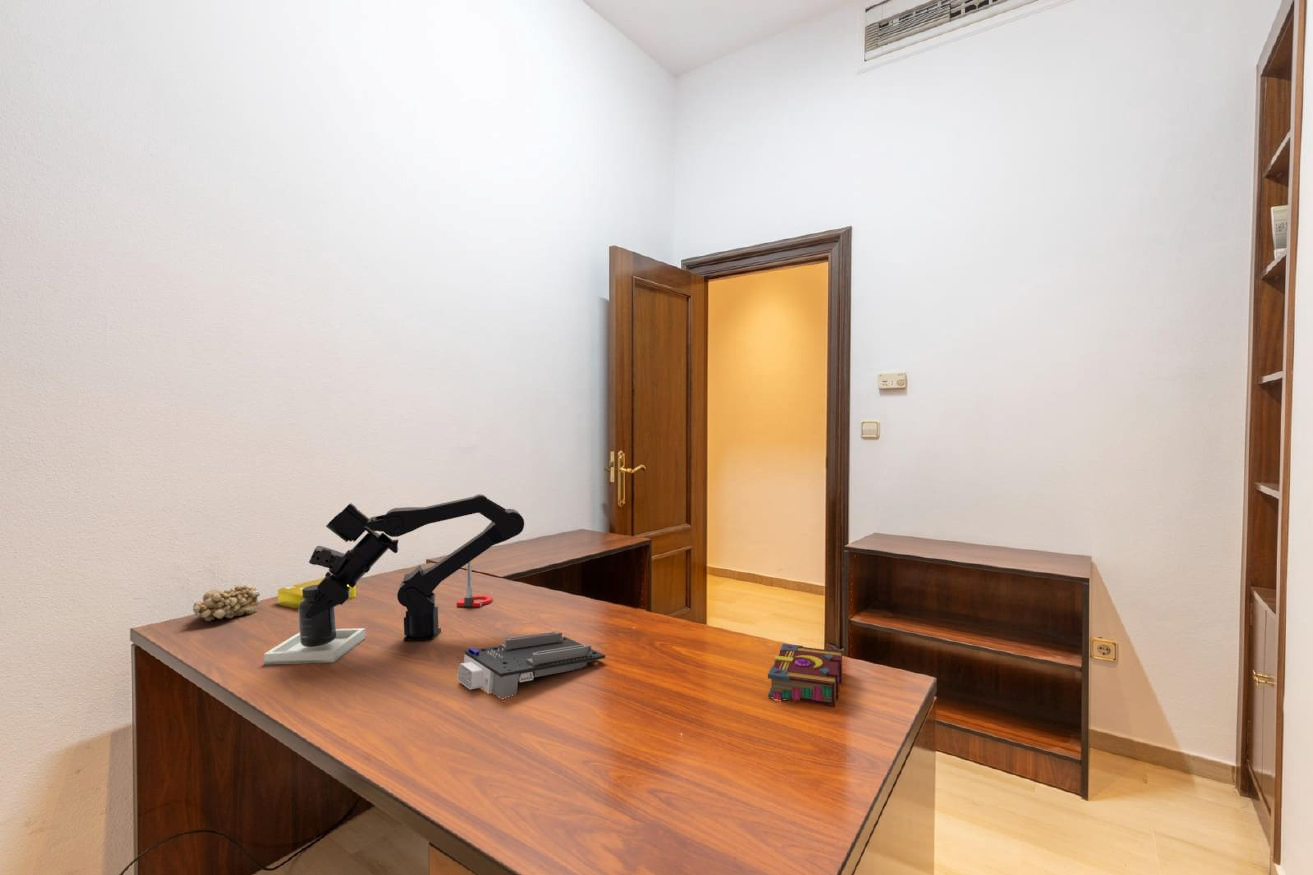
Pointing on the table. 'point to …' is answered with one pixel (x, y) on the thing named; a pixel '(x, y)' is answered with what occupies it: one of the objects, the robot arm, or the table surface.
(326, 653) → the ceramic tray
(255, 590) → the mineral formation
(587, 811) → the table surface
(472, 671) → the circuit board
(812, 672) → the decorative book
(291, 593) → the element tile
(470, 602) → the tow hook
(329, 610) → the supplement bottle
